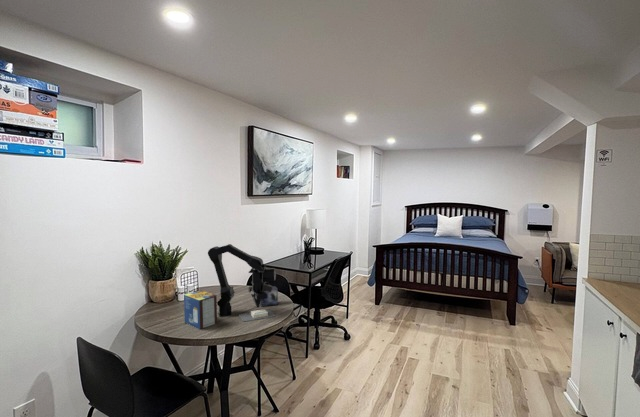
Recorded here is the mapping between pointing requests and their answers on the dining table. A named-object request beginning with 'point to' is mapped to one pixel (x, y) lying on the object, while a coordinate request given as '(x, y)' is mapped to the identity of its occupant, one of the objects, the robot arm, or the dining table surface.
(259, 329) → the dining table surface
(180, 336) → the dining table surface
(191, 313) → the protein box
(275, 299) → the small box
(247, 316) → the rubber mat
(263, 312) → the cream slab
